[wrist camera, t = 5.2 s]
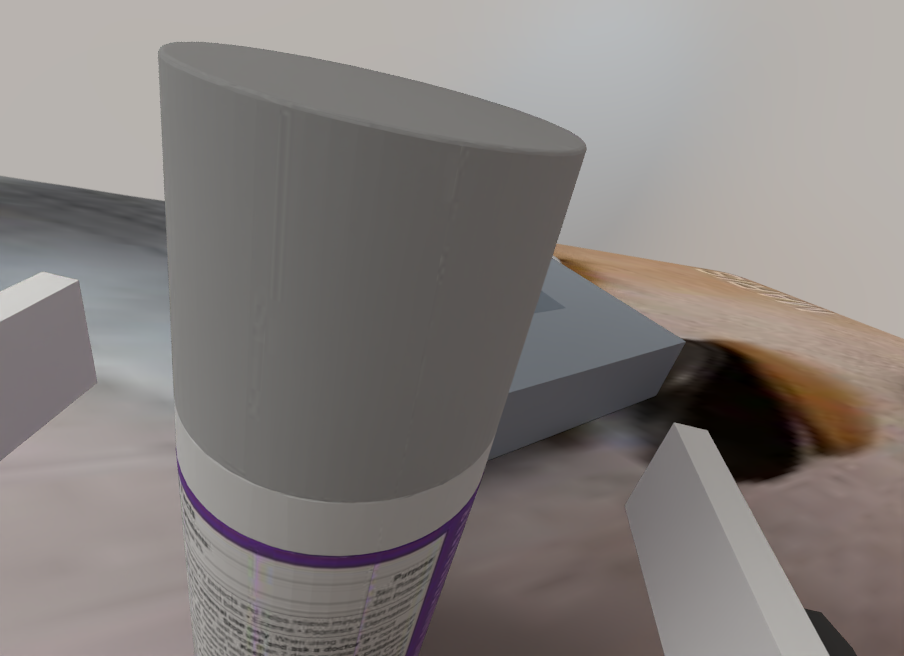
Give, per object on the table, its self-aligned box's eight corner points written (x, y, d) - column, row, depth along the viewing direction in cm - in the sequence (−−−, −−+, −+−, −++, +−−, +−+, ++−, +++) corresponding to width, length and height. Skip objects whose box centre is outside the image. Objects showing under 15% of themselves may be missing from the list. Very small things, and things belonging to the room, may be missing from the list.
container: (311, 587, 16) (379, 66, 8) (425, 696, 14) (649, 149, 6) (162, 723, 12) (35, 11, 4) (288, 900, 10) (431, 170, 3)
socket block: (265, 283, 31) (267, 224, 29) (481, 266, 42) (494, 221, 40) (405, 492, 19) (423, 417, 18) (656, 395, 30) (685, 341, 28)
